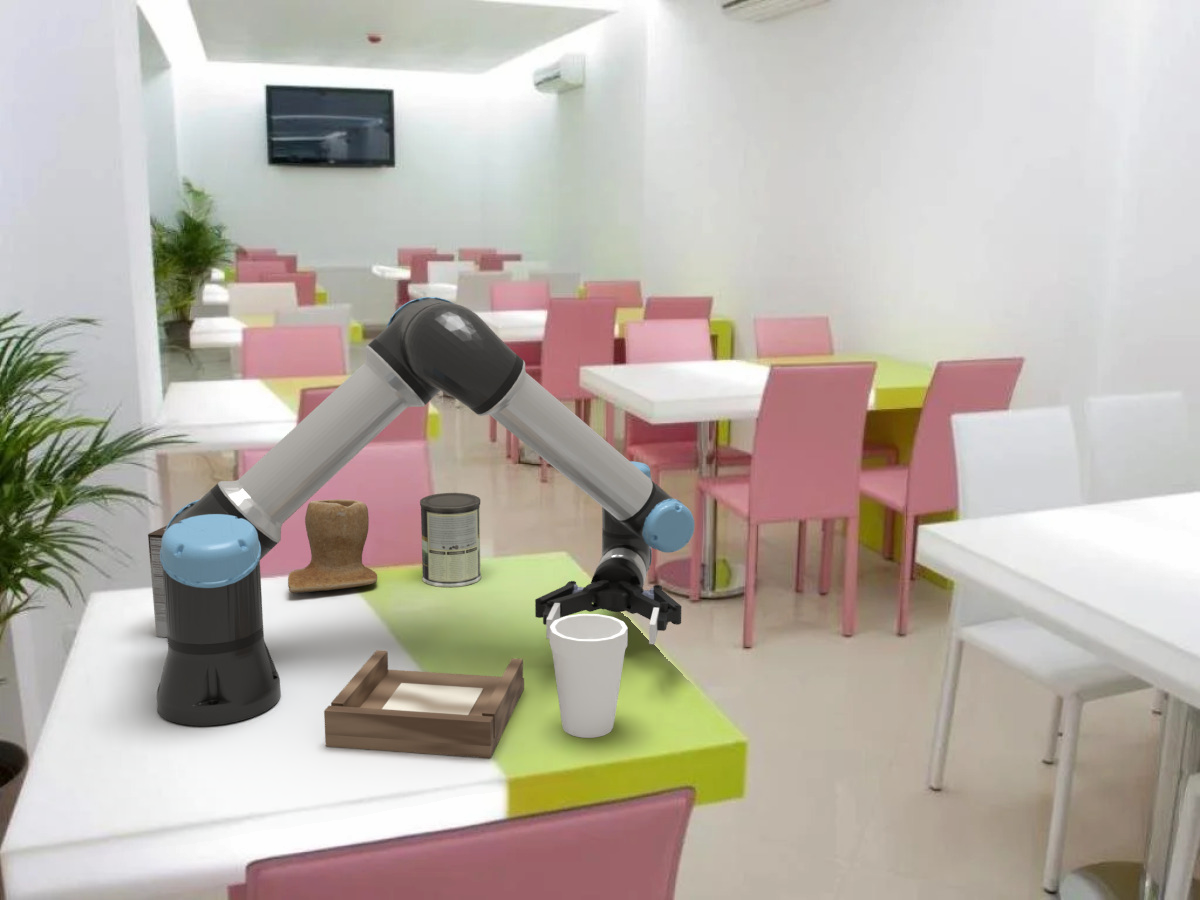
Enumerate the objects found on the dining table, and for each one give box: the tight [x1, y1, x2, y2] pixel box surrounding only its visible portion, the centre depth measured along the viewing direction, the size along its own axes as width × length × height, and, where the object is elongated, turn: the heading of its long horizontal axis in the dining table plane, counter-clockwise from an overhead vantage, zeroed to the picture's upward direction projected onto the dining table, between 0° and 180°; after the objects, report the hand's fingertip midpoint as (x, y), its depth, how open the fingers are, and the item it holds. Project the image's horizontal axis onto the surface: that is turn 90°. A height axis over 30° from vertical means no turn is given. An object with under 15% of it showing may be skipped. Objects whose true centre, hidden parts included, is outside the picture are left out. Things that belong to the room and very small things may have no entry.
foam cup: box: [549, 613, 629, 739], centre depth 138 cm, size 10×9×13 cm
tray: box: [323, 649, 525, 759], centre depth 142 cm, size 20×20×4 cm
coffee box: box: [147, 525, 167, 638], centre depth 170 cm, size 9×6×16 cm
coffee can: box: [419, 492, 482, 588], centre depth 195 cm, size 10×10×14 cm
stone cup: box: [287, 499, 378, 594], centre depth 190 cm, size 15×12×15 cm
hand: (600, 631), depth 148 cm, fingers open, 13 cm apart
